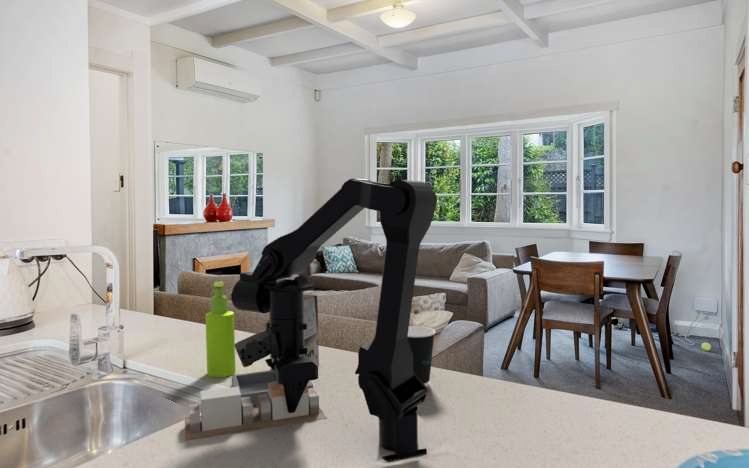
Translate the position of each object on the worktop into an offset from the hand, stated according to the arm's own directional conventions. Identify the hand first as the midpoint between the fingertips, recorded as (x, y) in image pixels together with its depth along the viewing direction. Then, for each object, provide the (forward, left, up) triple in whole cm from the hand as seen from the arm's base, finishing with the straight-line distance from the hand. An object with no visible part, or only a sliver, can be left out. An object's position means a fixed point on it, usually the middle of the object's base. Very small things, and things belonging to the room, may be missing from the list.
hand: (288, 407), depth 88 cm
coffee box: (+28, -7, -2) cm, 29 cm away
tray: (+12, +1, -2) cm, 12 cm away
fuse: (0, +11, -1) cm, 11 cm away
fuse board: (0, +6, -2) cm, 6 cm away
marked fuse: (0, 0, -1) cm, 1 cm away
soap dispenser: (+29, +9, -2) cm, 30 cm away
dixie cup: (+7, -27, -2) cm, 28 cm away
